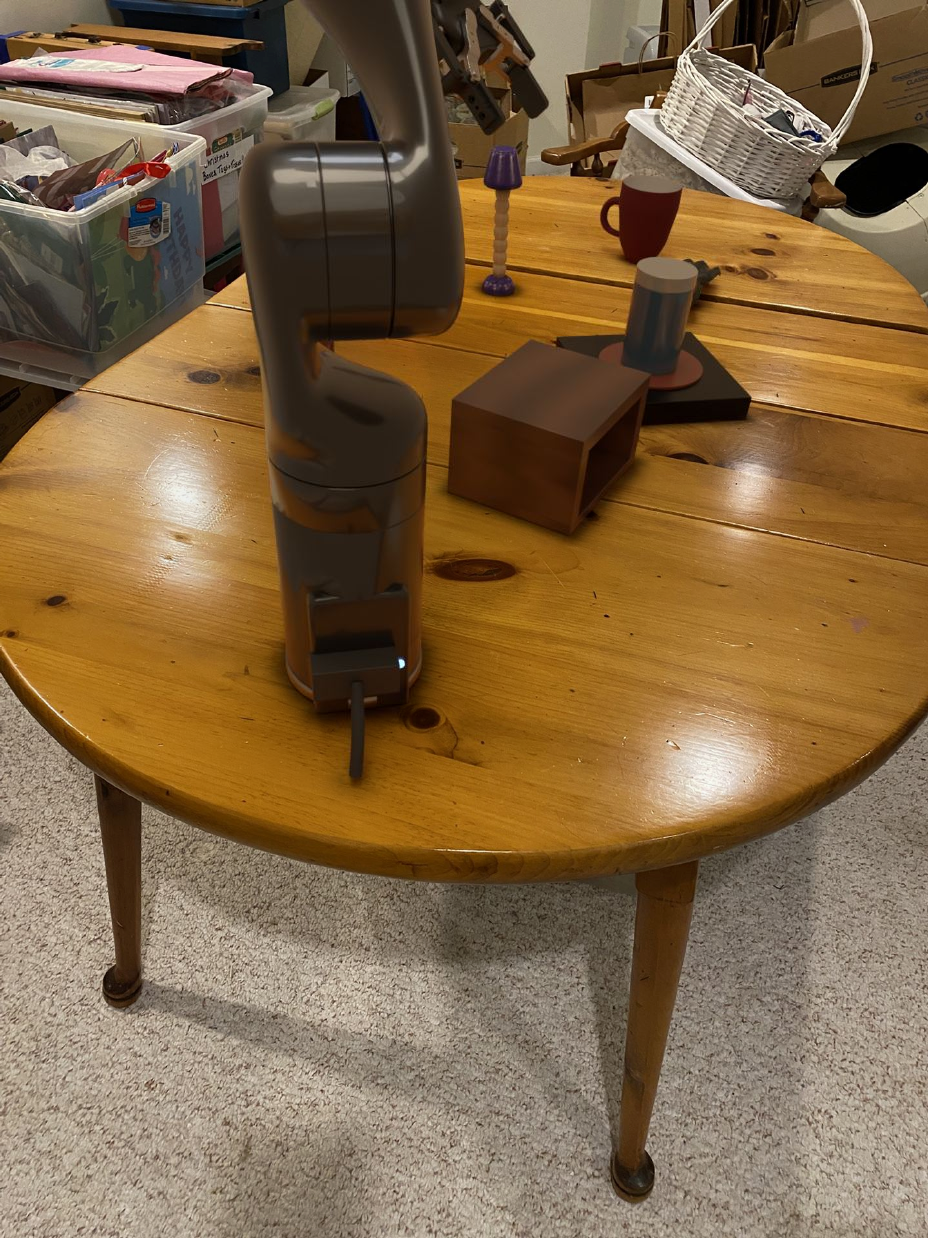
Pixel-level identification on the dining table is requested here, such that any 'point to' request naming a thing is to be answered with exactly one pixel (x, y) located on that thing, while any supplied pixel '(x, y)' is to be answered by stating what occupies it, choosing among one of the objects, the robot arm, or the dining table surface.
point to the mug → (644, 215)
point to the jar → (658, 314)
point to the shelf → (546, 434)
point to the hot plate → (676, 382)
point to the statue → (702, 276)
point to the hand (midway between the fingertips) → (520, 120)
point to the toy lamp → (501, 213)
